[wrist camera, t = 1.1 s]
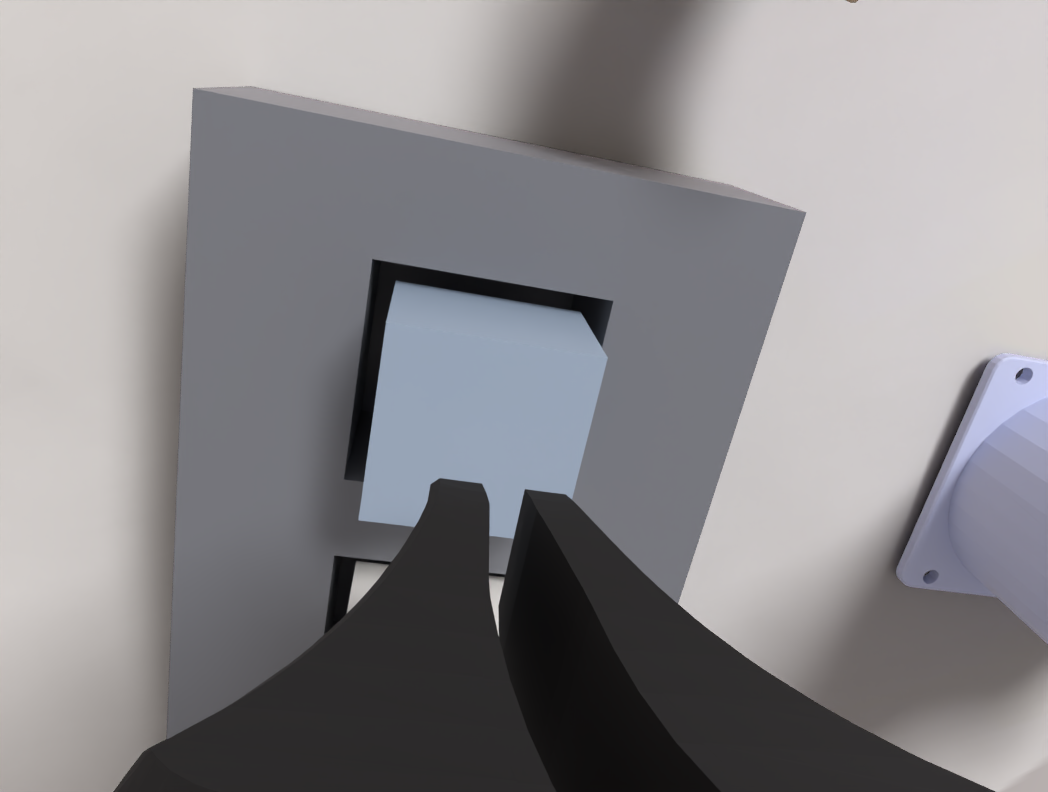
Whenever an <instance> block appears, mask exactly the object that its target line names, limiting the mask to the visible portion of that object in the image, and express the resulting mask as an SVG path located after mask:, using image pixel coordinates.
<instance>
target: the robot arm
mask: <svg viewBox="0 0 1048 792" xmlns="http://www.w3.org/2000/svg"><path fill="white" fill-rule="evenodd" d="M1021 369H1023V373H1022V374H1021V375H1020V377H1018V378H1017V379H1015V377H1016V374H1017V373H1018V371H1019V370H1021ZM489 529H490V503H489V500H488V497H487V493H486V491H485V489H484V487H483V485H482V483H474V482H466V481H458V480H451V479H443V478H439V479H438V480H436V481H435V482H433V483H432V484H430V490H429V496H428V501H427V504H426V506H425V508H424V510H423V512H422V514H421V517H420V519H419V521H418V522H417V524H416V526H415V527H414V529H413V531H412V532H411V534H410V535H409V537H408V539H407V540H406V542H405V544H404V545H403V547H402V548H401V550H400V551H399V553H398V554H397V555H396V557H395V558H394V559H393V560H392V562H391V563H390V564H389V566H388V567H387V568H386V570H385V571H384V572H383V574H382V575H381V576H380V578H379V579H378V580H377V581H376V582H375V584H374V585H373V586H372V587H371V588H370V589H369V591H368V592H367V593H366V594H365V595H364V596H363V597H362V598H361V599H360V601H359V602H358V603H357V604H356V605H355V606H354V607H353V608H352V609H351V610H350V611H349V612H348V613H347V614H346V615H345V616H344V617H343V618H342V619H341V620H340V621H339V622H338V623H337V624H336V625H334V626H333V627H332V628H331V629H330V630H329V631H328V632H327V633H325V634H324V635H323V636H322V637H321V638H320V639H319V640H318V641H317V642H315V643H314V644H313V645H312V646H311V647H310V648H308V649H307V650H306V651H305V652H304V653H302V654H301V655H300V656H299V657H297V658H296V659H295V660H294V661H292V662H291V663H290V664H288V665H287V666H285V667H284V668H283V669H281V670H280V671H278V672H277V673H275V674H274V675H273V676H271V677H270V678H268V679H267V680H265V681H264V682H263V683H261V684H260V685H258V686H257V687H255V688H254V689H253V690H251V691H250V692H248V693H247V694H245V695H244V696H243V697H241V698H240V699H238V700H237V701H235V702H233V703H232V704H230V705H229V706H227V707H225V708H224V709H222V710H221V711H219V712H217V713H215V714H213V715H211V716H209V717H208V718H206V719H204V720H202V721H200V722H198V723H196V724H195V725H193V726H191V727H189V728H187V729H185V730H183V731H182V732H180V733H178V734H176V735H174V736H172V737H171V738H169V739H167V740H165V741H163V742H160V743H158V744H156V745H154V746H152V747H150V748H149V749H147V750H146V751H144V752H143V753H142V754H141V756H140V757H139V758H138V760H137V761H136V762H135V763H134V765H133V766H132V767H131V769H130V770H129V771H128V773H127V774H126V775H125V777H124V778H123V780H122V781H121V782H120V784H119V785H118V786H117V788H116V789H115V790H114V792H995V791H993V790H991V789H988V788H986V787H984V786H982V785H979V784H977V783H975V782H973V781H970V780H968V779H966V778H964V777H961V776H959V775H957V774H954V773H952V772H950V771H948V770H945V769H943V768H941V767H939V766H936V765H934V764H932V763H930V762H927V761H925V760H923V759H921V758H919V757H917V756H915V755H913V754H911V753H909V752H907V751H905V750H903V749H901V748H899V747H897V746H895V745H893V744H891V743H889V742H887V741H885V740H884V739H882V738H880V737H878V736H876V735H874V734H872V733H870V732H868V731H866V730H864V729H862V728H860V727H858V726H857V725H855V724H853V723H851V722H849V721H848V720H846V719H844V718H842V717H840V716H839V715H837V714H835V713H833V712H832V711H830V710H828V709H826V708H825V707H823V706H821V705H819V704H818V703H816V702H814V701H813V700H811V699H810V698H808V697H806V696H805V695H803V694H802V693H800V692H798V691H797V690H795V689H794V688H792V687H790V686H789V685H787V684H786V683H784V682H782V681H781V680H779V679H778V678H776V677H774V676H773V675H771V674H770V673H768V672H767V671H765V670H764V669H762V668H761V667H759V666H758V665H756V664H755V663H753V662H752V661H750V660H749V659H748V658H746V657H745V656H743V655H742V654H741V653H739V652H738V651H737V650H735V649H734V648H733V647H731V646H730V645H729V644H727V643H726V642H725V641H723V640H722V639H721V638H719V637H718V636H717V635H715V634H714V633H713V632H711V631H710V630H708V629H707V628H706V627H705V626H704V625H702V624H701V623H700V622H699V621H697V620H696V619H695V618H694V617H692V616H691V615H690V614H689V613H688V612H686V611H685V610H684V609H683V608H682V607H681V606H680V605H679V604H677V603H676V602H675V601H674V600H673V599H672V598H671V597H669V596H668V595H667V594H666V593H665V592H664V591H663V590H661V589H660V588H659V587H658V586H657V585H656V584H655V583H654V582H653V581H652V580H651V579H650V578H649V577H648V576H646V575H645V574H644V573H643V572H642V571H641V570H640V569H639V568H638V567H637V566H636V565H635V564H634V563H633V562H632V561H631V560H630V559H629V558H628V557H627V556H626V555H625V554H624V553H623V552H622V551H621V550H620V549H619V548H618V547H617V546H616V545H615V544H614V543H613V542H612V541H611V540H610V539H609V538H608V536H607V535H606V534H605V533H604V532H603V531H602V530H601V529H600V528H599V527H598V526H597V525H596V524H595V523H594V522H593V521H592V520H591V519H590V518H589V517H588V515H587V514H586V513H585V512H584V511H583V510H582V509H581V508H580V507H579V506H578V505H577V504H576V503H575V502H574V501H573V500H572V499H571V498H569V497H568V496H567V495H566V494H559V493H551V492H543V491H536V490H528V489H525V491H524V495H523V499H522V504H521V508H520V513H519V517H518V521H517V526H516V530H515V535H514V539H513V544H512V548H511V552H510V557H509V561H508V566H507V570H506V575H505V579H504V583H503V588H502V592H501V597H500V601H499V605H498V611H499V636H498V631H497V626H496V622H495V617H494V612H493V607H492V603H491V598H490V587H489ZM930 570H931V571H930ZM928 571H930V572H929V574H927V575H925V573H926V572H928ZM896 574H897V577H898V578H899V579H900V580H901V582H902V583H903V584H904V585H905V586H908V587H913V588H922V589H930V590H939V591H947V592H956V593H964V594H973V595H981V596H990V597H997V598H998V599H999V600H1000V601H1002V602H1003V603H1004V604H1005V605H1006V606H1007V607H1008V608H1009V609H1010V610H1011V611H1012V612H1013V613H1014V614H1015V615H1017V616H1018V617H1019V618H1020V619H1021V620H1022V621H1023V622H1024V623H1025V624H1026V625H1027V626H1028V627H1029V628H1030V629H1032V630H1033V631H1034V632H1035V633H1036V634H1037V635H1038V636H1039V637H1040V638H1041V639H1042V640H1043V641H1044V642H1045V643H1047V644H1048V360H1043V359H1037V358H1032V357H1026V356H1020V355H1015V354H1009V353H1002V354H999V355H997V356H995V357H994V358H993V359H991V360H990V361H989V363H988V364H987V366H986V368H985V370H984V372H983V374H982V377H981V379H980V381H979V383H978V386H977V388H976V390H975V392H974V395H973V397H972V399H971V401H970V404H969V406H968V408H967V410H966V413H965V415H964V417H963V420H962V422H961V424H960V426H959V429H958V431H957V433H956V435H955V438H954V440H953V442H952V444H951V447H950V449H949V451H948V453H947V456H946V458H945V460H944V462H943V465H942V467H941V469H940V471H939V474H938V476H937V478H936V480H935V483H934V485H933V487H932V489H931V492H930V494H929V496H928V498H927V501H926V503H925V505H924V507H923V510H922V512H921V514H920V517H919V519H918V521H917V523H916V526H915V528H914V530H913V532H912V535H911V537H910V539H909V541H908V544H907V546H906V548H905V550H904V553H903V555H902V557H901V559H900V562H899V564H898V566H897V570H896ZM924 575H925V576H924Z"/></svg>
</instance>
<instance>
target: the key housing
mask: <svg viewBox="0 0 1048 792" xmlns="http://www.w3.org/2000/svg"><path fill="white" fill-rule="evenodd" d="M805 215H806V212H804V211H801V210H798V209H795V208H792V207H790V206H787V205H784V204H781V203H779V202H776V201H773V200H770V199H768V198H765V197H762V196H759V195H757V194H754V193H751V192H748V191H746V190H743V189H740V188H737V187H735V186H732V185H728V184H723V183H719V182H714V181H709V180H704V179H699V178H694V177H689V176H684V175H680V174H675V173H670V172H665V171H660V170H655V169H650V168H645V167H641V166H636V165H631V164H626V163H621V162H616V161H611V160H607V159H602V158H597V157H592V156H587V155H582V154H577V153H572V152H568V151H563V150H558V149H553V148H548V147H543V146H538V145H534V144H529V143H524V142H519V141H514V140H509V139H504V138H499V137H495V136H490V135H485V134H480V133H475V132H470V131H465V130H460V129H456V128H451V127H446V126H441V125H436V124H431V123H426V122H422V121H417V120H412V119H407V118H402V117H397V116H392V115H387V114H383V113H378V112H373V111H368V110H363V109H358V108H353V107H349V106H344V105H339V104H334V103H329V102H324V101H319V100H314V99H310V98H305V97H300V96H295V95H290V94H285V93H280V92H276V91H271V90H266V89H261V88H256V87H251V86H250V87H217V88H193V101H192V125H191V150H190V175H189V199H188V224H187V248H186V273H185V298H184V322H183V347H182V372H181V396H180V421H179V445H178V470H177V495H176V519H175V544H174V569H173V593H172V618H171V642H170V667H169V692H168V716H167V739H169V738H171V737H172V736H174V735H176V734H178V733H180V732H182V731H183V730H185V729H187V728H189V727H191V726H193V725H195V724H196V723H198V722H200V721H202V720H204V719H206V718H208V717H209V716H211V715H213V714H215V713H217V712H219V711H221V710H222V709H224V708H225V707H227V706H229V705H230V704H232V703H233V702H235V701H237V700H238V699H240V698H241V697H243V696H244V695H245V694H247V693H248V692H250V691H251V690H253V689H254V688H255V687H257V686H258V685H260V684H261V683H263V682H264V681H265V680H267V679H268V678H270V677H271V676H273V675H274V674H275V673H277V672H278V671H280V670H281V669H283V668H284V667H285V666H287V665H288V664H290V663H291V662H292V661H294V660H295V659H296V658H297V657H299V656H300V655H301V654H302V653H304V652H305V651H306V650H307V649H308V648H310V647H311V646H312V645H313V644H314V643H315V642H317V641H318V640H319V639H320V638H321V637H322V636H323V635H324V634H325V633H327V632H328V631H329V630H330V629H331V628H332V627H333V626H334V625H336V624H337V623H338V622H339V621H340V620H341V619H342V618H343V617H344V616H345V615H346V614H347V609H348V603H349V598H350V592H351V587H352V581H353V576H354V570H355V564H356V561H361V562H370V563H379V564H388V565H389V564H390V563H391V562H392V560H393V559H394V558H395V557H396V555H397V554H398V553H399V551H400V550H401V548H402V547H403V545H404V544H405V542H406V540H407V539H408V537H409V535H410V534H411V532H412V531H413V529H414V527H411V526H403V525H394V524H386V523H377V522H369V521H360V520H358V519H359V512H360V505H361V498H362V491H363V484H364V476H365V469H366V462H367V455H368V448H369V441H370V434H371V426H372V419H373V412H374V405H375V398H376V391H377V384H378V376H379V369H380V362H381V355H382V348H383V341H384V333H385V326H386V320H387V316H388V312H389V308H390V303H391V299H392V295H393V291H394V286H395V282H396V280H397V281H402V282H408V283H414V284H420V285H426V286H432V287H438V288H444V289H449V290H455V291H461V292H467V293H473V294H479V295H485V296H490V297H496V298H502V299H508V300H514V301H520V302H526V303H532V304H537V305H543V306H549V307H555V308H561V309H567V310H573V311H578V312H581V314H582V315H583V317H584V319H585V320H586V322H587V324H588V325H589V327H590V329H591V330H592V332H593V334H594V335H595V337H596V339H597V340H598V342H599V344H600V346H601V347H602V349H603V351H604V352H605V354H606V356H607V357H608V359H607V363H606V367H605V371H604V375H603V379H602V383H601V387H600V391H599V395H598V399H597V403H596V407H595V411H594V415H593V418H592V422H591V426H590V430H589V434H588V438H587V442H586V446H585V450H584V454H583V458H582V462H581V466H580V470H579V474H578V478H577V482H576V486H575V490H574V494H573V498H572V500H573V501H574V502H575V503H576V504H577V505H578V506H579V507H580V508H581V509H582V510H583V511H584V512H585V513H586V514H587V515H588V517H589V518H590V519H591V520H592V521H593V522H594V523H595V524H596V525H597V526H598V527H599V528H600V529H601V530H602V531H603V532H604V533H605V534H606V535H607V536H608V538H609V539H610V540H611V541H612V542H613V543H614V544H615V545H616V546H617V547H618V548H619V549H620V550H621V551H622V552H623V553H624V554H625V555H626V556H627V557H628V558H629V559H630V560H631V561H632V562H633V563H634V564H635V565H636V566H637V567H638V568H639V569H640V570H641V571H642V572H643V573H644V574H645V575H646V576H648V577H649V578H650V579H651V580H652V581H653V582H654V583H655V584H656V585H657V586H658V587H659V588H660V589H661V590H663V591H664V592H665V593H666V594H667V595H668V596H669V597H671V598H672V599H673V600H674V601H675V602H676V603H677V604H678V602H679V599H680V596H681V593H682V590H683V587H684V584H685V580H686V577H687V574H688V571H689V568H690V565H691V562H692V559H693V556H694V553H695V550H696V547H697V544H698V541H699V538H700V535H701V532H702V529H703V526H704V523H705V519H706V516H707V513H708V510H709V507H710V504H711V501H712V498H713V495H714V492H715V489H716V486H717V483H718V480H719V477H720V474H721V471H722V468H723V465H724V462H725V459H726V455H727V452H728V449H729V446H730V443H731V440H732V437H733V434H734V431H735V428H736V425H737V422H738V419H739V416H740V413H741V410H742V407H743V404H744V401H745V398H746V394H747V391H748V388H749V385H750V382H751V379H752V376H753V373H754V370H755V367H756V364H757V361H758V358H759V355H760V352H761V349H762V346H763V343H764V340H765V337H766V334H767V330H768V327H769V324H770V321H771V318H772V315H773V312H774V309H775V306H776V303H777V300H778V297H779V294H780V291H781V288H782V285H783V282H784V279H785V276H786V273H787V269H788V266H789V263H790V260H791V257H792V254H793V251H794V248H795V245H796V242H797V239H798V236H799V233H800V230H801V227H802V224H803V221H804V218H805ZM512 544H513V539H512V538H504V537H495V536H489V576H497V577H505V575H506V570H507V566H508V561H509V557H510V552H511V548H512Z"/></svg>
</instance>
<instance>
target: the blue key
mask: <svg viewBox="0 0 1048 792" xmlns="http://www.w3.org/2000/svg"><path fill="white" fill-rule="evenodd" d="M607 359H608V357H607V356H606V354H605V352H604V351H603V349H602V347H601V346H600V344H599V342H598V340H597V339H596V337H595V335H594V334H593V332H592V330H591V329H590V327H589V325H588V324H587V322H586V320H585V319H584V317H583V315H582V314H581V312H578V311H573V310H567V309H561V308H555V307H549V306H543V305H537V304H532V303H526V302H520V301H514V300H508V299H502V298H496V297H490V296H485V295H479V294H473V293H467V292H461V291H455V290H449V289H444V288H438V287H432V286H426V285H420V284H414V283H408V282H402V281H397V280H396V282H395V286H394V291H393V295H392V299H391V303H390V308H389V312H388V316H387V320H386V326H385V333H384V341H383V348H382V355H381V362H380V369H379V376H378V384H377V391H376V398H375V405H374V412H373V419H372V426H371V434H370V441H369V448H368V455H367V462H366V469H365V476H364V484H363V491H362V498H361V505H360V512H359V519H358V520H360V521H369V522H377V523H386V524H394V525H403V526H411V527H415V526H416V524H417V522H418V521H419V519H420V517H421V514H422V512H423V510H424V508H425V506H426V504H427V501H428V496H429V490H430V484H432V483H433V482H435V481H436V480H438V479H439V478H443V479H451V480H458V481H466V482H474V483H482V485H483V487H484V489H485V491H486V493H487V497H488V500H489V503H490V529H489V536H495V537H504V538H512V539H514V535H515V530H516V526H517V521H518V517H519V513H520V508H521V504H522V499H523V495H524V491H525V489H528V490H536V491H543V492H551V493H559V494H566V495H567V496H568V497H569V498H571V499H572V498H573V494H574V490H575V486H576V482H577V478H578V474H579V470H580V466H581V462H582V458H583V454H584V450H585V446H586V442H587V438H588V434H589V430H590V426H591V422H592V418H593V415H594V411H595V407H596V403H597V399H598V395H599V391H600V387H601V383H602V379H603V375H604V371H605V367H606V363H607Z"/></svg>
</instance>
